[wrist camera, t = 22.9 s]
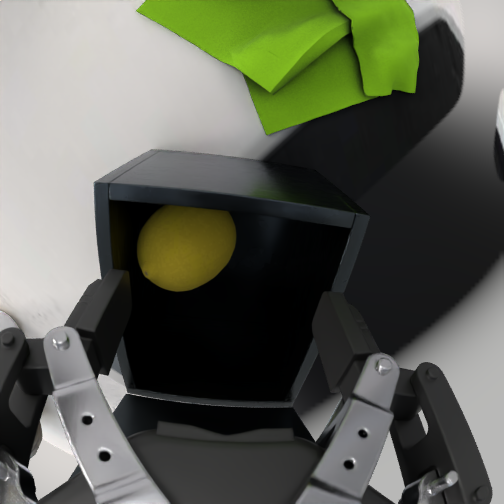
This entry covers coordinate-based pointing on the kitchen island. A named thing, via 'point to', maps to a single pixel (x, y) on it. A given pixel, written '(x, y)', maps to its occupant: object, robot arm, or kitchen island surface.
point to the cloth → (302, 50)
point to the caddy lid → (202, 417)
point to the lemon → (185, 246)
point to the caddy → (228, 276)
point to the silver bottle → (6, 321)
